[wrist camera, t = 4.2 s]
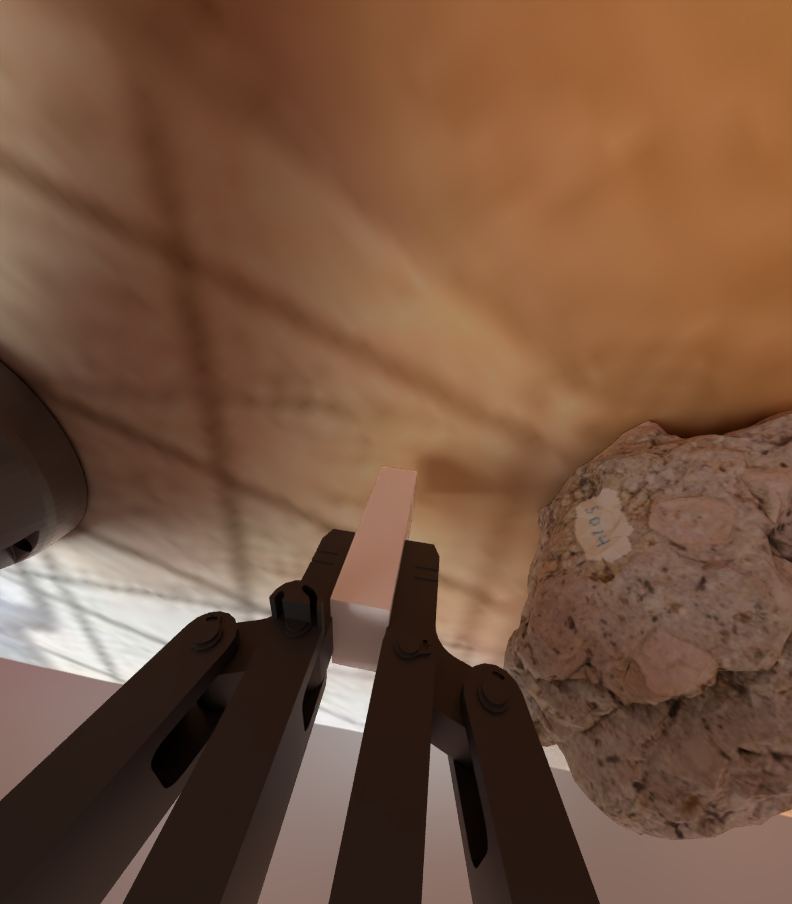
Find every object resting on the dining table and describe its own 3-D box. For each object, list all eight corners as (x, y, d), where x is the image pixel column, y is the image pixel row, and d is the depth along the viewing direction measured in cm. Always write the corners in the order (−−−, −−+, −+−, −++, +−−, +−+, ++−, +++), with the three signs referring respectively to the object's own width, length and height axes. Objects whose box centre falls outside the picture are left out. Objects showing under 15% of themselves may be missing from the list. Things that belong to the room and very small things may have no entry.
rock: (1090, 215, 5) (1643, 631, 4) (685, 351, 15) (829, 483, 14) (431, 687, 8) (678, 973, 8) (457, 541, 18) (564, 658, 18)
